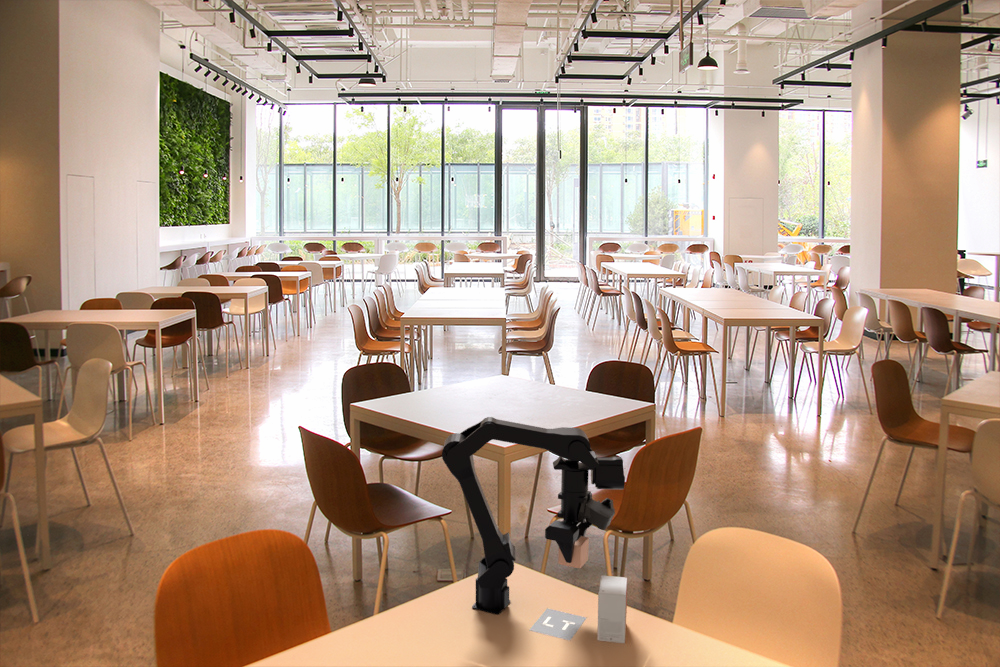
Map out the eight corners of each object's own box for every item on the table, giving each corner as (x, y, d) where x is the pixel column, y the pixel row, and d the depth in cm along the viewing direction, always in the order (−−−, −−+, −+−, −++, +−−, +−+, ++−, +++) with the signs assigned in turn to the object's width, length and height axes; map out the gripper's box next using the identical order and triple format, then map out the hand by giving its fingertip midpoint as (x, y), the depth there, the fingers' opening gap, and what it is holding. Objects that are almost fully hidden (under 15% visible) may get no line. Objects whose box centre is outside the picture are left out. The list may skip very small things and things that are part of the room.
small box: (625, 644, 153) (626, 595, 152) (596, 641, 154) (598, 592, 153) (626, 624, 161) (628, 576, 160) (599, 621, 162) (600, 574, 161)
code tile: (528, 631, 158) (528, 630, 158) (547, 609, 167) (547, 608, 167) (570, 641, 154) (570, 640, 154) (586, 618, 163) (586, 617, 163)
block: (558, 564, 165) (558, 541, 165) (566, 554, 170) (566, 533, 169) (580, 568, 163) (580, 546, 163) (588, 559, 168) (588, 537, 167)
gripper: (596, 509, 152) (594, 583, 155) (623, 480, 169) (621, 548, 171) (544, 500, 157) (543, 572, 159) (575, 473, 174) (574, 539, 176)
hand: (573, 557), depth 167 cm, fingers closed on block, 5 cm apart
